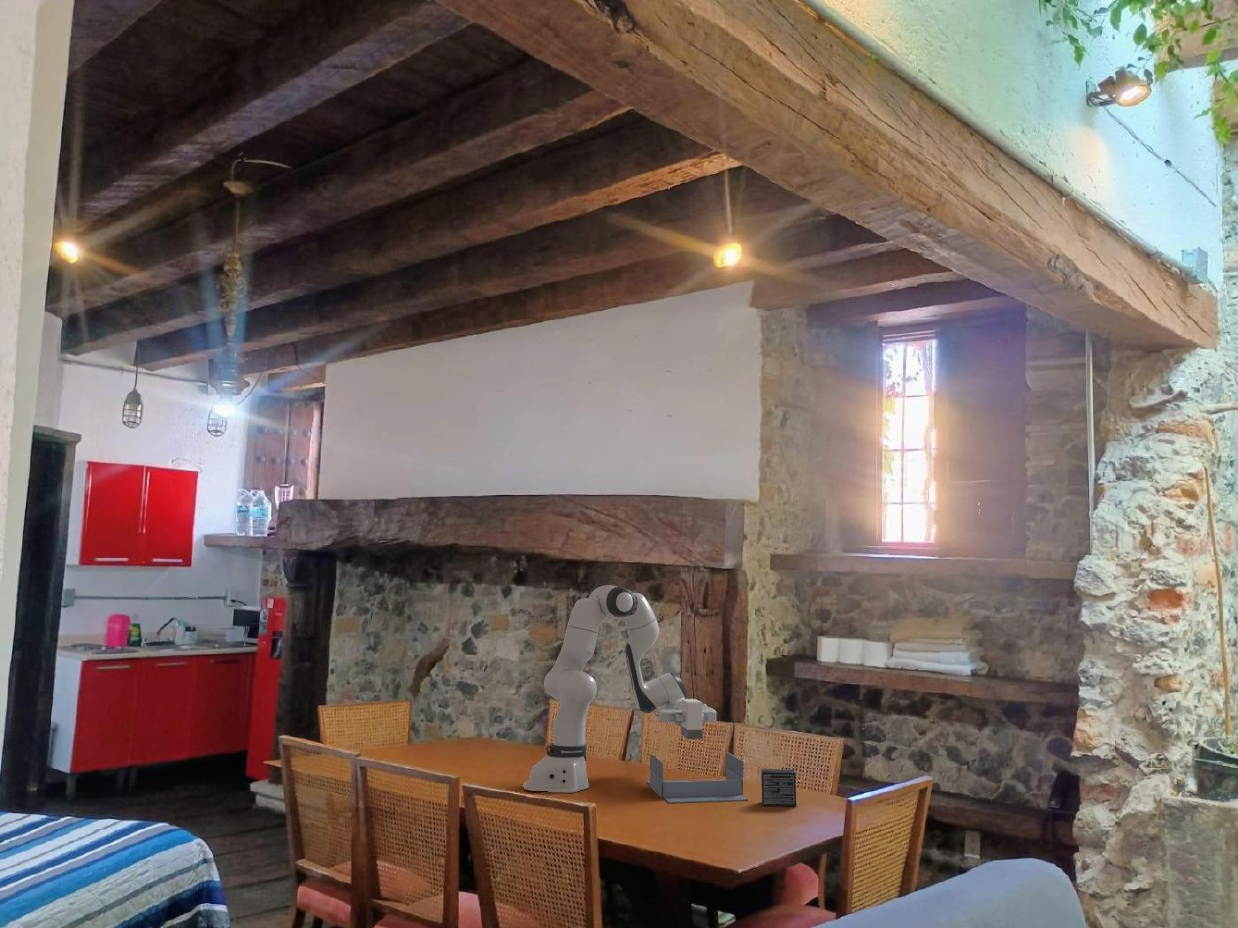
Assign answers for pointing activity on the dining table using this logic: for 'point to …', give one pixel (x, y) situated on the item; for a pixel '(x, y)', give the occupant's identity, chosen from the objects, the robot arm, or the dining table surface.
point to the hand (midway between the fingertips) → (692, 718)
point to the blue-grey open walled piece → (699, 784)
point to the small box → (778, 787)
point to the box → (691, 719)
